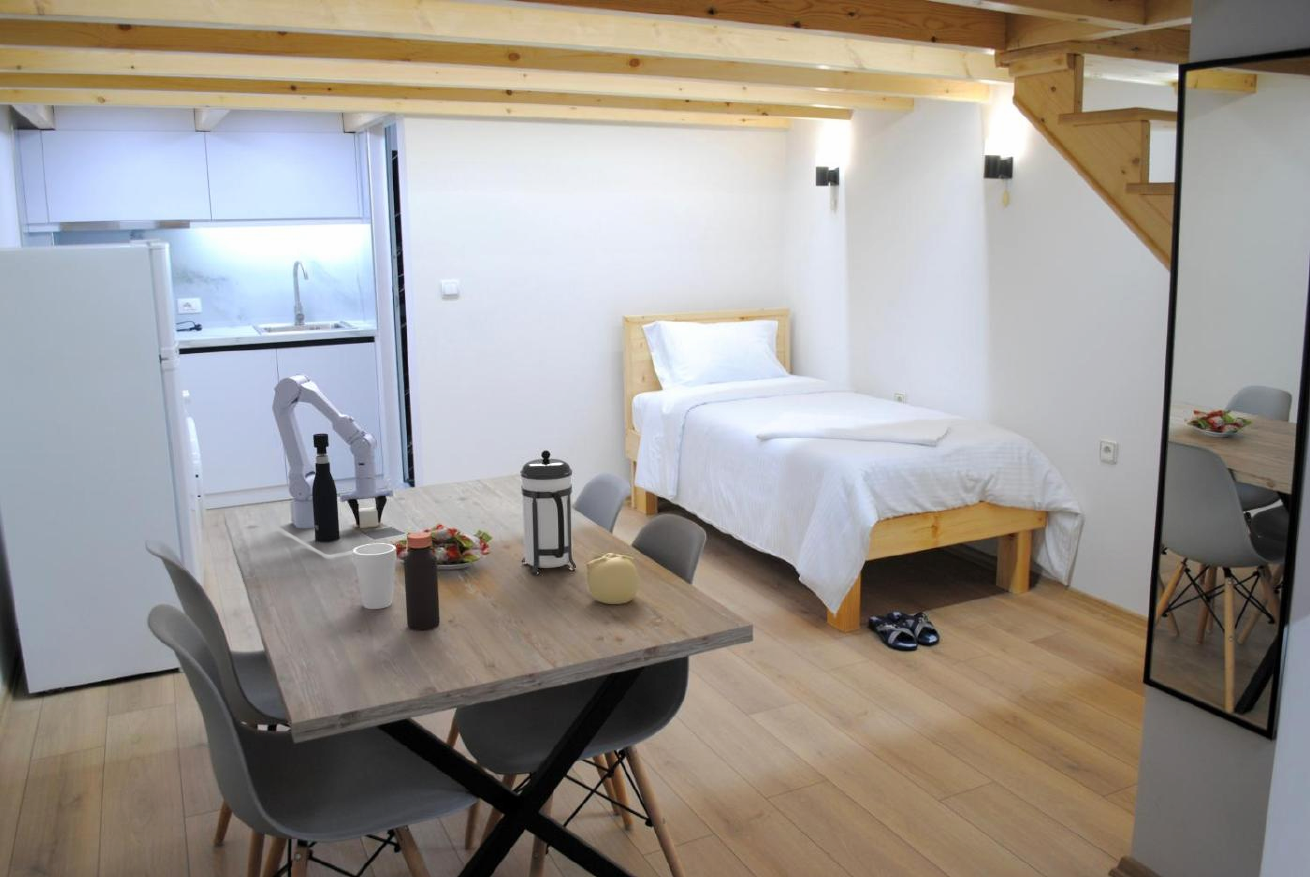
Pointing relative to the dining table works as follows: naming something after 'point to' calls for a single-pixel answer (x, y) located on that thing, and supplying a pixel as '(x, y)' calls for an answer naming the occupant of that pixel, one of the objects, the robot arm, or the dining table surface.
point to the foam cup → (375, 573)
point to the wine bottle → (324, 495)
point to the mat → (383, 533)
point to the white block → (368, 517)
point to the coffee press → (547, 513)
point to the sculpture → (613, 578)
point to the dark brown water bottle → (421, 583)
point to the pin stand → (367, 527)
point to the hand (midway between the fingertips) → (368, 523)
